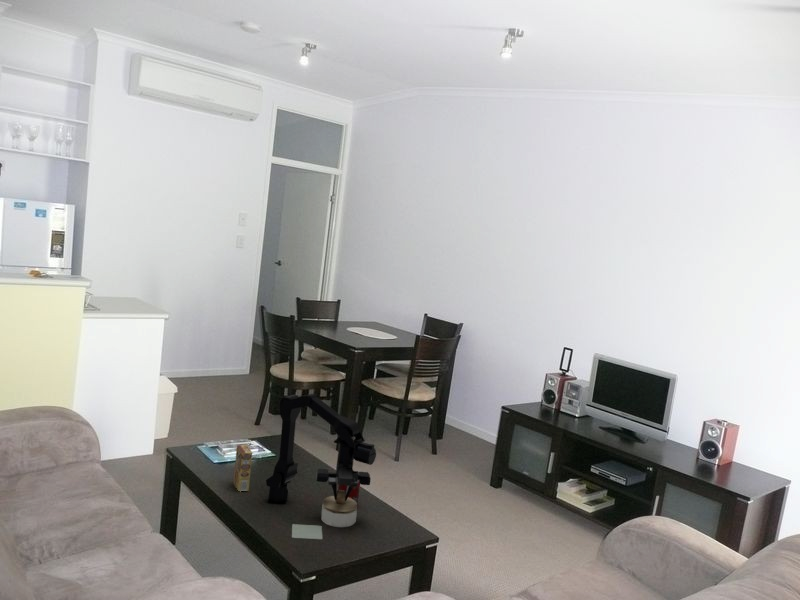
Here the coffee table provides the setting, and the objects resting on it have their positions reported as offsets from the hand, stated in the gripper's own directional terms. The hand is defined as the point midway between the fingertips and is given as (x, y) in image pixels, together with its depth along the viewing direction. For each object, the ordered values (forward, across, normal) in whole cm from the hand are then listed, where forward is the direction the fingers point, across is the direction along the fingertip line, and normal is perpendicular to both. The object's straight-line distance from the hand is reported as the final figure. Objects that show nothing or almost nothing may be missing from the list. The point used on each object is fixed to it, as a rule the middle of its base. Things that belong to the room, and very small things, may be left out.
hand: (340, 500), depth 240 cm
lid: (+2, 0, 0) cm, 2 cm away
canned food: (+8, +4, +14) cm, 16 cm away
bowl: (+8, 0, 0) cm, 8 cm away
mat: (+8, -11, -11) cm, 17 cm away
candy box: (+8, -36, +24) cm, 44 cm away
